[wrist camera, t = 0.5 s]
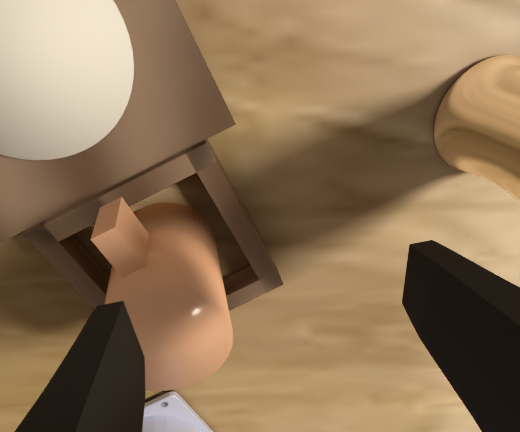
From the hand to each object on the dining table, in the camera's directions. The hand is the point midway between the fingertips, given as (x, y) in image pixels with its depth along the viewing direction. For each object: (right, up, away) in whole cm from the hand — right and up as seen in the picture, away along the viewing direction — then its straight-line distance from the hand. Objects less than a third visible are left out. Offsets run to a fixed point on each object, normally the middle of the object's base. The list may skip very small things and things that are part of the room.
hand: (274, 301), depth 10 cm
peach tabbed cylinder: (-5, +1, +11) cm, 12 cm away
